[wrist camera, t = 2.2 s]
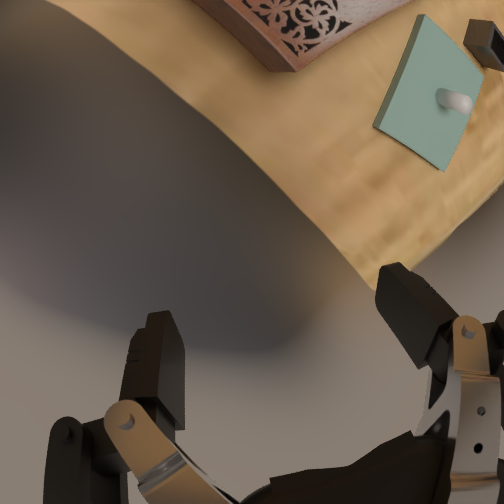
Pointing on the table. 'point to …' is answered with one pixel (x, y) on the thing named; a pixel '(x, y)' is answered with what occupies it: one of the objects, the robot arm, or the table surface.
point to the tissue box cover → (294, 26)
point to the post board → (430, 94)
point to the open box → (485, 43)
